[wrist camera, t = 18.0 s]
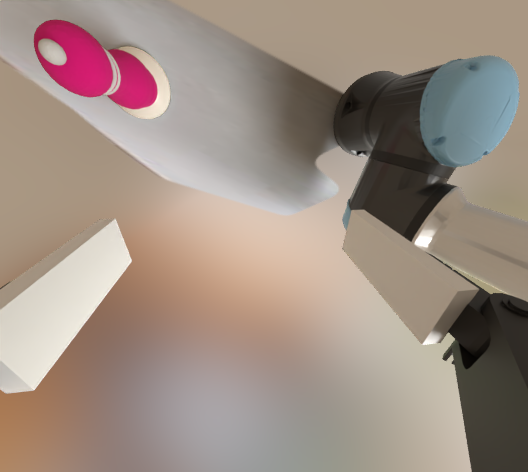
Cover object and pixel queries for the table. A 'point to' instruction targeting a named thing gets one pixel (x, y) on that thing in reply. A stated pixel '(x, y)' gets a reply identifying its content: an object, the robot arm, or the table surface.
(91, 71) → the pepper mill
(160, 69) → the cream dome
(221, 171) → the table surface
